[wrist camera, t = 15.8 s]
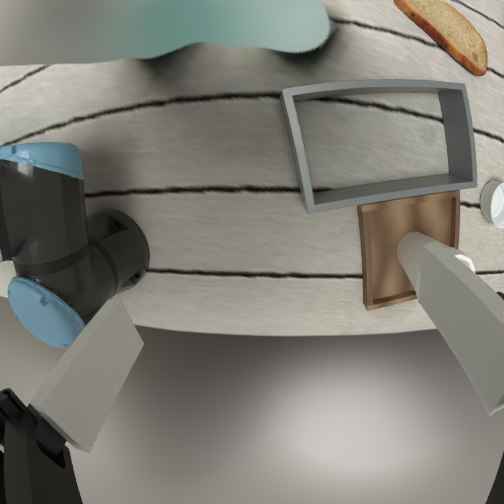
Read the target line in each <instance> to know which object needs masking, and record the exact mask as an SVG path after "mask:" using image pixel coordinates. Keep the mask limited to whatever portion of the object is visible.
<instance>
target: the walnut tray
mask: <svg viewBox="0 0 504 504" xmlns="http://www.w3.org/2000/svg"><path fill="white" fill-rule="evenodd" d="M357 207H358V216H359V226H360V238H361V251H362V268H363V296H364V305H365V307H366V309H367V311H369V310H374V309H378V308H382V307H386V306H390V305H394V304H398V303H402V302H406V301H410V300H414V299H417V295H416V291H415V289H414V287H413V285H412V284H411V282H410V280H409V278H408V276H407V274H406V272H405V271H404V269H403V267H402V265H401V263H400V262H399V259H398V256H397V248H398V244H399V242H400V241H401V239H402V238H403V237H404V236H405V235H407V234H408V233H409V232H416V231H417V232H419V233H422V234H424V235H426V236H428V237H430V238H432V239H434V240H436V241H438V242H441V243H443V244H445V245H447V246H449V247H453V248H455V249H457V250H458V243H459V226H460V190H453V191H446V192H439V193H432V194H425V195H418V196H412V197H405V198H399V199H392V200H386V201H380V202H374V203H368V204H362V205H357Z"/></svg>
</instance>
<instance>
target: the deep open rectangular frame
mask: <svg viewBox="0 0 504 504" xmlns="http://www.w3.org/2000/svg"><path fill="white" fill-rule="evenodd" d="M370 93H438V95H439V100H440V105H441V110H442V116H443V122H444V128H445V135H446V143H447V152H448V163H449V174H441V175H432V176H423V177H415V178H407V179H400V180H392V181H385V182H378V183H371V184H365V185H358V186H352V187H346V188H339V189H333V190H327V191H322V192H316V193H313V192H312V186H311V181H310V176H309V170H308V165H307V160H306V155H305V150H304V146H303V141H302V136H301V132H300V127H299V123H298V118H297V114H296V110H295V106H294V102H296V101H302V100H309V99H317V98H325V97H333V96H343V95H355V94H370ZM280 100H281V104H282V108H283V112H284V116H285V121H286V125H287V129H288V134H289V138H290V143H291V147H292V152H293V156H294V161H295V166H296V171H297V176H298V181H299V186H300V191H301V197H302V202H303V204H304V206H305V208H306V210H307V212H308V214H310V213H316V212H321V211H327V210H333V209H338V208H344V207H350V206H356V205H362V204H368V203H374V202H380V201H386V200H392V199H399V198H405V197H412V196H418V195H425V194H432V193H439V192H446V191H453V190H460V189H468V188H476V187H477V165H476V151H475V141H474V132H473V125H472V118H471V112H470V106H469V101H468V96H467V91H466V87H465V84H461V83H452V82H442V81H428V80H403V79H383V80H357V81H343V82H331V83H322V84H314V85H306V86H299V87H293V88H286V89H282V91H281V95H280Z"/></svg>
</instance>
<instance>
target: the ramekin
mask: <svg viewBox="0 0 504 504" xmlns="http://www.w3.org/2000/svg"><path fill="white" fill-rule="evenodd" d="M480 207H481V211H482V214H483V215H484V217H485V218H486V219H488V220H489V221H490V222H492V223H493V224H494V225H495V226H496V227H498V228H504V182H499V181H490V182H488V183H487V184H486V185H485V187H484V188H483V190H482V193H481V198H480Z"/></svg>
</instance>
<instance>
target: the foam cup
mask: <svg viewBox="0 0 504 504" xmlns="http://www.w3.org/2000/svg"><path fill="white" fill-rule="evenodd" d="M433 242H438V241H436V240H434V239H432V238H430V237H428V236H426V235H424V234H422V233H419V232H417V231H416V232H409V233H408V234H407V235H405V236H404V237H403V238H402V239H401V241H400V242H399V244H398V248H397V256H398V259H399V262H400V263H401V265H402V267H403V269H404V271H405V272H406V274H407V276H408V278H409V280H410V282H411V284H412V285H413V287H414V289H415V291H416V295H417V298H418V299H419V289H420V277H421V260H422V245H424V244H428V243H433ZM438 243H439V244H440V245H442V246H443V247H444V248H445V249H447V250H448V251H449V252H450V253H452V254H453V255H454V256H455V257H457V258H458V259H459V260H460V261H461V262H463V263H464V264H465V265H466V266H467V267H468V268H470V269H471V270H472V271H473V272H474V273H475V267H474V265H473V263H472V261H471V259H470V258H469V257H468V256H466V255H465V254H464V253H463V252H461V251H459V250H457V249H455V248H453V247H449V246H447V245H445V244H443V243H441V242H438Z"/></svg>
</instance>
